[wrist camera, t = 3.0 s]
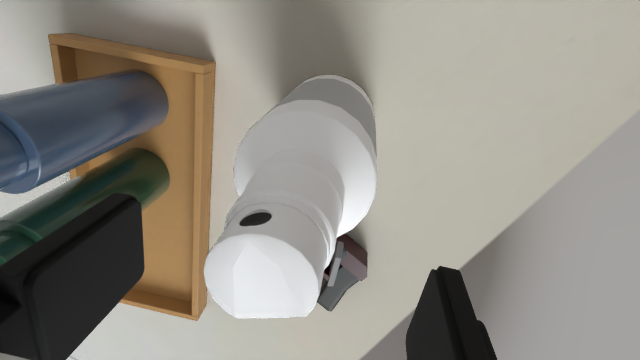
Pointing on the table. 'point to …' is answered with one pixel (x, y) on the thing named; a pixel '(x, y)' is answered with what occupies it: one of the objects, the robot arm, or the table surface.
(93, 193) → the green bottle
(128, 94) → the slate bottle
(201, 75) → the tray
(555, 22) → the table surface
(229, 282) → the spray bottle
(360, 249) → the toy gun
